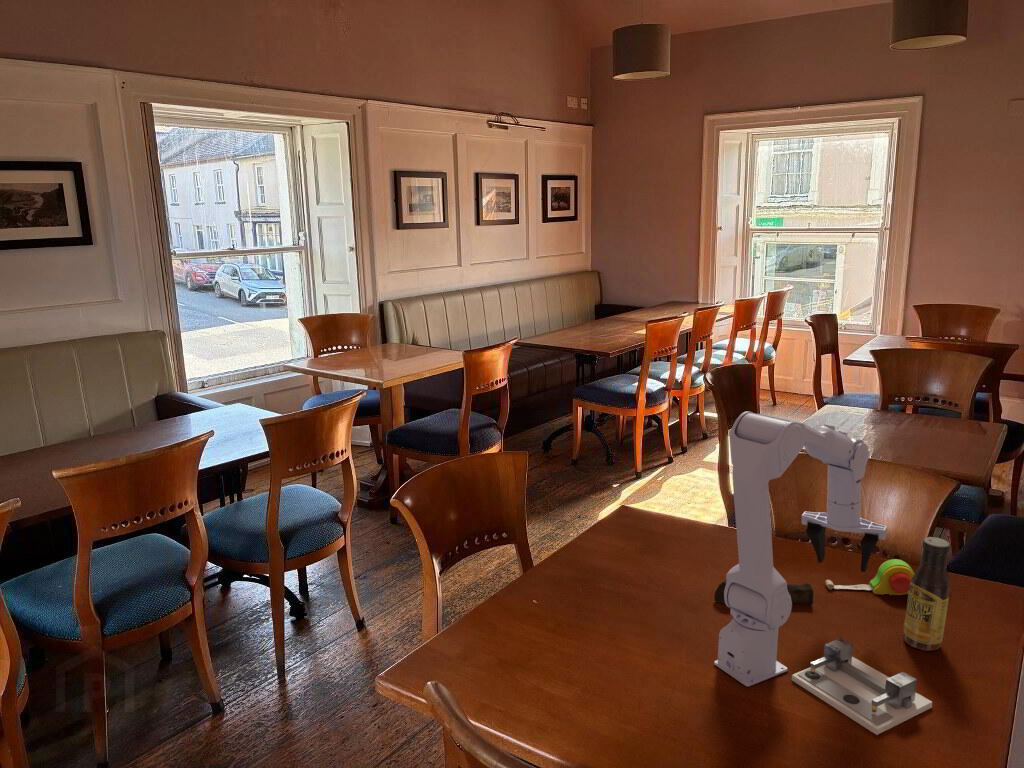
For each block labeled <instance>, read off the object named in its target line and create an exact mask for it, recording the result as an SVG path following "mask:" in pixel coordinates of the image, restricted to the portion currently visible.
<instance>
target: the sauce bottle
mask: <svg viewBox="0 0 1024 768" xmlns="http://www.w3.org/2000/svg"><path fill="white" fill-rule="evenodd" d="M950 546H951V545H950V543H949V541H948V540H945V539H943V538H940V537H935V536H928V537H925V538H924V539H923V541H922V550H923V551H922V555H921V559H920V563H919V564H918V566H917V569H916V570H915V571H914V573H915V574H914V576H913V578H912V579H911V581H910V587H909V594H907V602H906V610H905V615H904V616H905V617H904V623H903V629H902V630H903V639H904V642H905V643H906V644H907V645H909V647H912V648H914V649H917V650H920V651H923V652H929V651H931V652H932V651H937V650H939V649H940V647H941V645H942V641H943V638H944V632H945V626H946V619H947V613H948V607H949V599H950V590H951V585H952V584H951V583H952V581H951V577H950V575H949V574H948V572H947V568H946V567H947V559H948V558H947V557H948V553H949V552H950Z"/></svg>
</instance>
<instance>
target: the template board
mask: <svg viewBox="0 0 1024 768" xmlns="http://www.w3.org/2000/svg"><path fill="white" fill-rule="evenodd" d="M810 671H811V667H810V666H809V667H808V668H805V669H803V670H800V671H798V672H795V673H794V674H792V675H791V681H792V682H794V683H795V684H796V685H799V686H800V687H802V688H803V689H805V690H806V691H807V692H809V693H811V694H813V695H814V696H816V697H817V698H819V699H820V700H822V701H823V702H825V703H826V704H828V705H829V706H831V707H833V708H834V709H835V710H837V711H839V712H840V713H842V714H843V715H845V716H846V717H848V718H850V719H851V720H853V721H854V722H856V723H857V724H859V725H861V726H862V727H864V728H865V729H867V730H868V731H869V732H871V733H872V734H875V735H876V736H878V735H879V734H881V733H884V732H886V731H888V730H890V729H892V728H894V727H896V726H898V725H900V724H902V723H904V722H905V721H908V720H910V719H912V718H914V717H915V716H918V715H919V714H922V713H924V712H926V711H928V710H930V709H932V707H933V701H932V700H930V699H928V698H926V697H925V696H923V695H922V694H920V693H917V692H916V693H915V701H913V702H912V700H911V699H910V698H908V697H907V698H905V699H903V704H902V707H901V708H899V709H898V708H896V707H894V706H893V705H891V704H889V703H888V702H886V703H884V704H881V705H879V706H877V712H872V704H871V703H872V699H874V698H876V697H878V696H881V695H883V694H885V686H886V679H888V678H890V676H887V675H886V674H884V673H882V672H881V671H879V670H876V669H875V668H873V667H871V666H869V665H868V664H866V663H864V662H863V661H861V660H859V659H857V658H856V657H854V656H852V664H849V663H847V662H845V661H842V662H840V667H839V670H837V671H834V670H832V669H830V668H829V667H827V666H825V665H823V666H821V667H818V668H816V669H815V674H811V673H810Z"/></svg>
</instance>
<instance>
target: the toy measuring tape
mask: <svg viewBox="0 0 1024 768" xmlns="http://www.w3.org/2000/svg"><path fill="white" fill-rule="evenodd" d="M914 574H915V571H914V570H913V569H912V567H911V566H910V565H909V564H908V563H907V562H906V561H904V560H902V559H897V558H894V559H887V560H886V561H884V562H883V563H881V564H880V566H879V567H878V570H877V573H876V575H875V576H874V577H873V578H872V579H871V580H870V581H869V582H868V584H865V583H864V584H863V583H862V584H854V585H842V584H841V585H840V584H839V585H835V584H834V583H833V581H832V580H830V579H826V580H825V581H824V583H825V585H826V587H827V589H828V590H830V591H832V589H834V590H854V591H862V590H863V591H867V592H868V591H872V593H873V594H874V595H884V594H889V595H888V596H904V595H908V594H909V587H910V581H911V579H912V578H913V576H914Z"/></svg>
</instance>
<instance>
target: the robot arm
mask: <svg viewBox="0 0 1024 768" xmlns="http://www.w3.org/2000/svg"><path fill="white" fill-rule="evenodd" d="M728 434H729V435H728V436H729V448H730V459H731V460H730V461H731V464H732V472H731V473H732V487H733V488H732V489H733V502H734V513H735V526H736V529H735V530H736V538H737V542H736V543H737V551H738V552H737V553H738V563H737V564H736V565H734V566H733V567H731V568H730V569H729V571H728V572H727V573H726V575H725V577H726V578H725V579H726V580H725V581H726V587H725V590H724V600H725V603H726V604H725V603H724V604H725V605H726V607H728V608H729V609H730V611H729V612H730V615H731V616H732V617H733V618H732V619H731V621H730V622H729V623H728V624H727V625H725V626H723V627H722V628H721V629H720V631H719V634H718V647H717V648H718V649H717V652H718V653H717V660H714V663H713V664H714V665H715V666H716V667H718V669H720V670H722V671H723V672H725V673H726V674H728V675H729V676H731V677H732V678H734V679H735V681H738V682H739V683H741V684H742V685H744V686H745V687H751V686H754V685H756V684H759V683H761V682H764V681H766V680H768V679H770V678H773V677H776V676H778V675H780V674H783V673H785V672H787V671H788V667H787V666H785V665H784V664H782V662H780V661H778V660H777V655H778V641H779V640H778V639H779V628H780V627H781V626H783V625H784V624H785V623H786V622H787V621H788V619H789V617H790V615H791V613H792V609H793V608H792V607H793V603H792V601H791V596H790V594H789V593H788V590H787V585H788V583H787V581H786V579H785V578H784V577H783V576H782V575H781V574H780V572H779V571H778V570H777V569H776V568H775V567H774V557H773V539H772V537H773V536H772V525H771V524H772V523H771V506H770V505H771V504H770V491H769V488H770V487H769V482H770V481H771V480H775V479H779V478H781V476H782V475H783V474H784V473H785V472H786V471H787V469H788V468H789V466H790V465H791V464H792V463H793V461H794V460H795V459H796V458H797V456H798V455H799V454H800V452H801V451H802V450H803V449H804V448H805V451H806V453H807V454H808V455H809V456H810V457H812V458H815V459H816V460H820V461H821V462H822V463H823V464H824V465H825V464H827V477H826V478H827V480H826V481H827V482H826V483H827V485H826V487H827V488H826V490H827V491H826V493H827V494H826V512H818V511H817V512H814V511H813V512H812V511H806V510H805V511H804V512H803V513H802V514H801V525H804V526H807V527H806V529H805V533H806V535H807V537H808V539H809V541H810V542H811V544H812V546H813V549H814V551H815V555H816V560H817V563H819V564H822V563H823V561H824V560H825V556H826V549H825V548H826V545H825V544H826V543H825V541H826V540H825V537H826V530H827V529H830V530H833V531H837V532H842V533H843V532H845V533H846V532H847V533H855V534H861V535H863V536H862V538H861V539H860V549H861V561H860V572H862V573H866V572H867V569H868V566H869V561H870V558H871V555H872V552H873V550H874V549H875V547H876V545H877V544H878V541H879V540H883V541H885V539H886V538H887V536H888V535H887V534H888V525H884V524H880V523H876V522H873V521H871V520H868V519H865V518H863V517H861V513H862V512H861V509H862V507H861V506H862V505H861V504H862V479H863V478H864V477H865V475H866V466H867V463H868V461H869V458H870V450H869V446H868V444H867V443H865V442H864V440H863V439H859V438H857V437H851V436H848V432H846V431H843V430H838V431H837V430H836V426H835V425H832V424H828V423H824V424H823V425H817V426H815V427H811V426H809V425H807V424H805V423H804V422H802V421H800V420H796V419H790V418H788V417H787V418H786V417H781V416H778V415H777V416H776V415H771V414H765V413H764V414H763V413H754V412H753V411H744V412H741V414H739V416H738V417H737V418H736V419H735V421H734V423H733V425H732V427H731V428H730V430H729V433H728ZM826 528H827V529H826Z"/></svg>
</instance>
